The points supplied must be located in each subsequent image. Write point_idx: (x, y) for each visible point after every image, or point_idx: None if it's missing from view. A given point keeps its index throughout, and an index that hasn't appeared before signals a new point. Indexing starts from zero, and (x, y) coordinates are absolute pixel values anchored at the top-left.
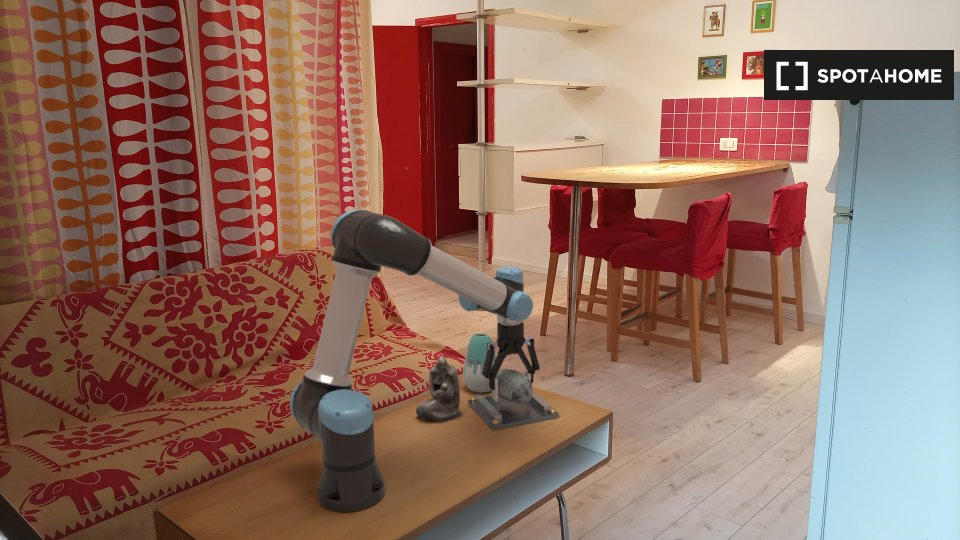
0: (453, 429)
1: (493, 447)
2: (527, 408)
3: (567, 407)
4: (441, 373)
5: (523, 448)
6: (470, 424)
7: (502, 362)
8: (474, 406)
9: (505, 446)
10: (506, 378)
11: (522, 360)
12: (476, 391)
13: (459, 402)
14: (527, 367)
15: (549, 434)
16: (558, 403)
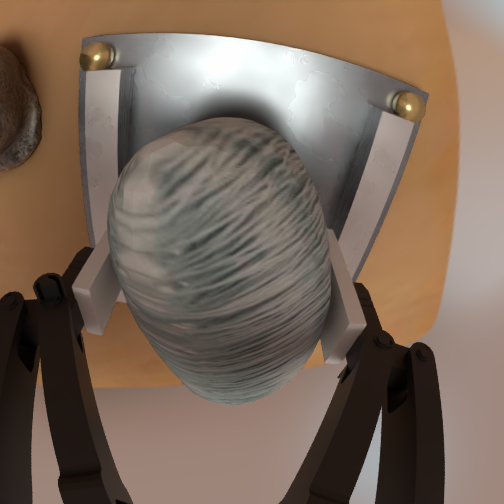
0: (11, 227)
1: (91, 340)
2: None
3: (404, 279)
4: None
5: (150, 369)
6: (52, 223)
7: (109, 450)
8: (79, 126)
9: (117, 350)
10: (159, 352)
11: (323, 437)
12: None
13: (8, 137)
14: (331, 401)
15: None
16: (414, 243)
